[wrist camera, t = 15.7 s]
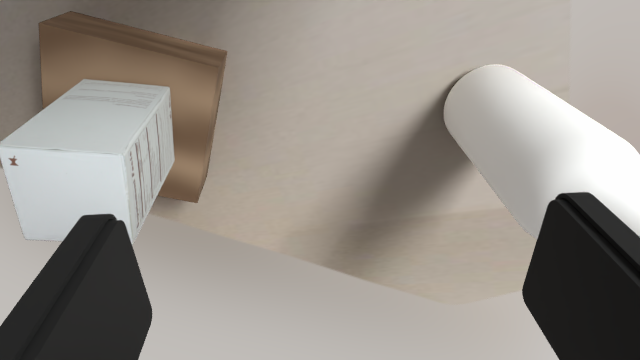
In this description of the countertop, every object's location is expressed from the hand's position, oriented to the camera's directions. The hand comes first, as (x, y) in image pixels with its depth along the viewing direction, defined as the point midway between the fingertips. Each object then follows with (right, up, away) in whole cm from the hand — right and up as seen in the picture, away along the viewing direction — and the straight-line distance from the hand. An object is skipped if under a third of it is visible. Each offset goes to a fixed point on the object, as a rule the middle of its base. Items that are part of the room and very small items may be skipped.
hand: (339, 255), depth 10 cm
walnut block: (-18, +10, +34) cm, 39 cm away
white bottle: (+17, +10, +35) cm, 40 cm away
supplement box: (-17, +7, +28) cm, 34 cm away
